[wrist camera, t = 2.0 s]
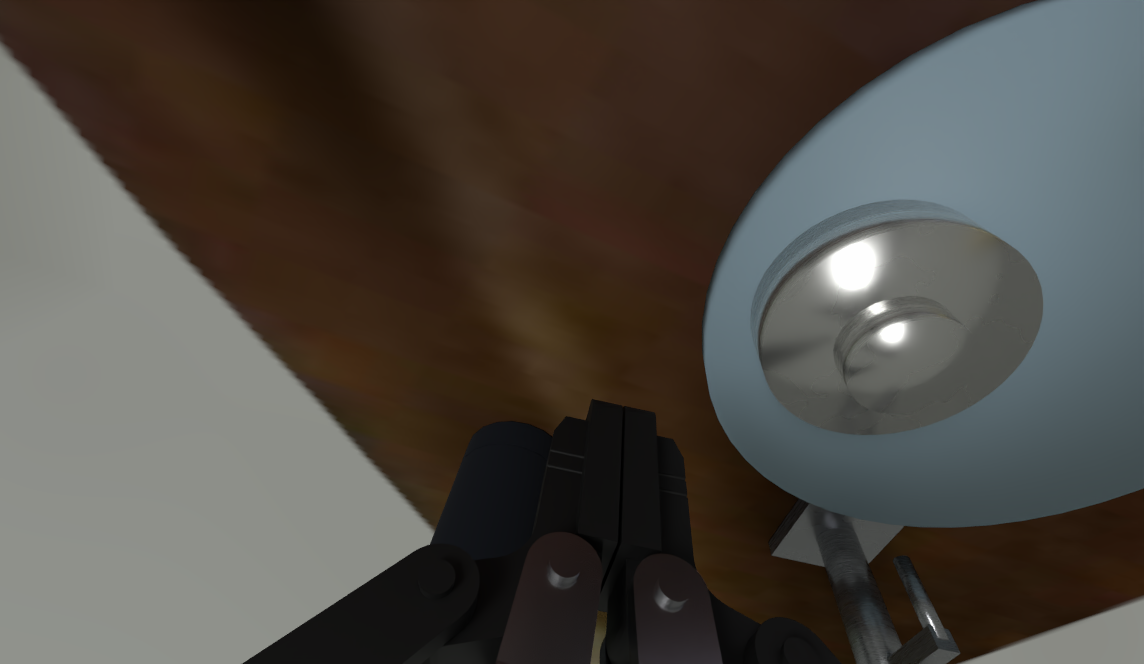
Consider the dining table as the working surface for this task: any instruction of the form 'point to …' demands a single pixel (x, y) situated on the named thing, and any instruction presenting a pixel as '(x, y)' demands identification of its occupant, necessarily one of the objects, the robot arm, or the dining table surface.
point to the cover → (893, 317)
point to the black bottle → (496, 491)
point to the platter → (1008, 210)
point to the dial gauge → (863, 584)
